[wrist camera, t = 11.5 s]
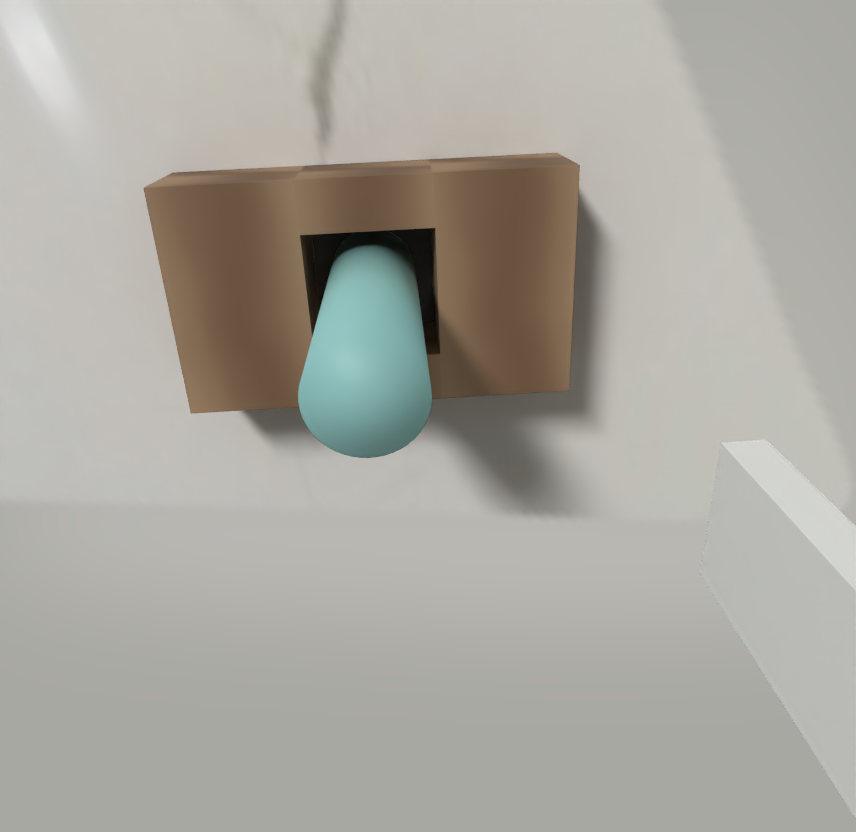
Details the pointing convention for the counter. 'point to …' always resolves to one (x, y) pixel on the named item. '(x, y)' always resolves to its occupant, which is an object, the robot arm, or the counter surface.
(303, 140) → the counter surface
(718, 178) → the counter surface
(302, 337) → the hole block
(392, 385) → the peg
